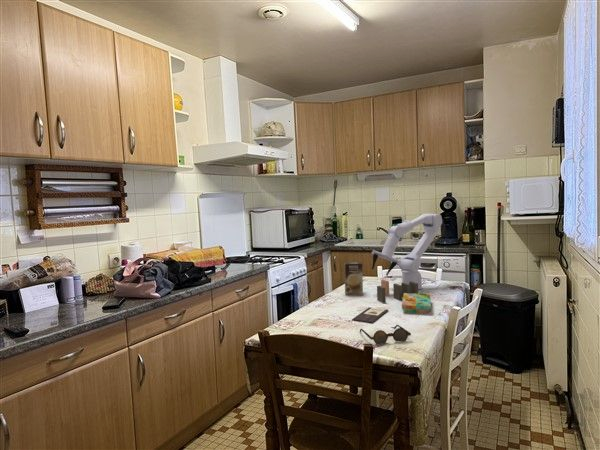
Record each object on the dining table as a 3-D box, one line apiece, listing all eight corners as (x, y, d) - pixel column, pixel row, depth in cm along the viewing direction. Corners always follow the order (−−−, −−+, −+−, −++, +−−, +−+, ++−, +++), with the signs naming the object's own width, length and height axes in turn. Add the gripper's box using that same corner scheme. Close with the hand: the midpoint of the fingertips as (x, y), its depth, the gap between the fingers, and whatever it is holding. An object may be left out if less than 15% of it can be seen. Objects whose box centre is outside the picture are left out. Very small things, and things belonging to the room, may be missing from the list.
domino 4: (404, 296, 192) (404, 282, 192) (410, 298, 188) (410, 284, 187) (401, 296, 192) (401, 282, 191) (407, 299, 187) (407, 284, 187)
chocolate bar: (351, 319, 160) (368, 307, 175) (352, 321, 160) (368, 309, 175) (372, 322, 155) (388, 309, 170) (372, 324, 155) (388, 312, 170)
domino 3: (396, 297, 191) (396, 283, 190) (402, 299, 186) (401, 285, 186) (393, 297, 190) (393, 283, 190) (399, 300, 186) (399, 285, 185)
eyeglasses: (371, 346, 133) (370, 332, 133) (357, 331, 148) (356, 318, 147) (411, 342, 136) (411, 328, 135) (393, 327, 150) (393, 315, 150)
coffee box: (345, 295, 199) (344, 263, 198) (344, 291, 206) (344, 261, 204) (363, 294, 198) (362, 263, 197) (362, 291, 205) (361, 261, 203)
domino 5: (412, 295, 194) (412, 281, 193) (418, 297, 189) (418, 283, 188) (409, 295, 193) (409, 281, 193) (415, 298, 189) (415, 283, 188)
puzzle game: (401, 303, 166) (403, 291, 185) (402, 313, 166) (403, 301, 185) (430, 304, 163) (429, 292, 182) (431, 315, 163) (429, 302, 182)
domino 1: (384, 293, 200) (383, 279, 200) (389, 295, 195) (388, 281, 195) (381, 293, 200) (380, 279, 199) (386, 295, 195) (386, 281, 194)
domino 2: (380, 299, 188) (379, 285, 188) (385, 302, 183) (385, 287, 183) (377, 300, 188) (376, 285, 187) (382, 302, 183) (382, 288, 182)
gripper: (376, 240, 196) (366, 265, 194) (404, 252, 194) (394, 277, 191) (375, 243, 203) (365, 267, 201) (402, 254, 200) (392, 278, 198)
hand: (379, 272), depth 197 cm, fingers open, 7 cm apart
